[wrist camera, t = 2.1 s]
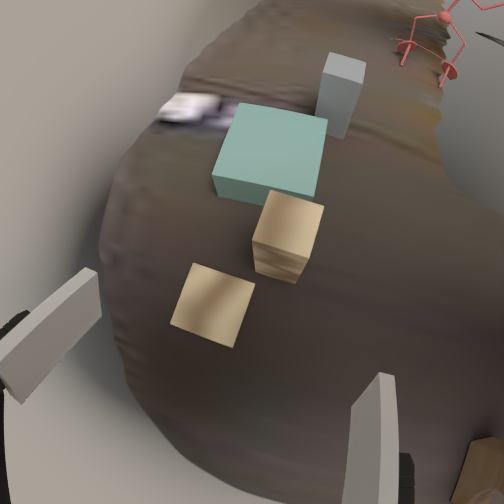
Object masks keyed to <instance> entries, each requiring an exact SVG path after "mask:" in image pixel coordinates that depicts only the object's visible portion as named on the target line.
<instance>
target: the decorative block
mask: <svg viewBox="0 0 504 504" xmlns="http://www.w3.org/2000/svg"><path fill="white" fill-rule="evenodd" d="M497 491H500V492H501V493H502V494H503V495H504V439H500V438H497V437H494V436H492V437H488V438H483V439H478V440H473V441H472V442H470V446H469V449H468V452H467V456H466V459H465V462H464V465H463V468H462V471H461V474H460V477H459V480H458V483H457V486H456V488H455V491H454V494H453V496H452V499H451V502H452V503H453V504H488V503H489V502H490V500H491V498H492V497H493V495H494V493H495V492H497Z"/></svg>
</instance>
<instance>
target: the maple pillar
mask: <svg viewBox="0 0 504 504" xmlns="http://www.w3.org/2000/svg"><path fill="white" fill-rule="evenodd" d="M323 209H324V206H322V205H319V204H316V203H312V202H309V201H306V200H303V199H300V198H297V197H293V196H290V195H287V194H283V193H280V192H277V191H273V190H270V192H269V195H268V197H267V200H266V203H265V206H264V208H263V211H262V214H261V216H260V219H259V222H258V225H257V227H256V230H255V233H254V236H253V238H252V245H253V254H254V263H255V271H256V272H257V273H260V274H264V275H267V276H270V277H273V278H276V279H279V280H282V281H285V282H288V283H291V284H294V285H295V284H296V282H297V280H298V278H299V276H300V275H301V273H302V271H303V269H304V267H305V265H306V263H307V261H308V260H309V257H310V254H311V250H312V247H313V244H314V240H315V237H316V233H317V230H318V226H319V223H320V219H321V216H322V212H323Z"/></svg>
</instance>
